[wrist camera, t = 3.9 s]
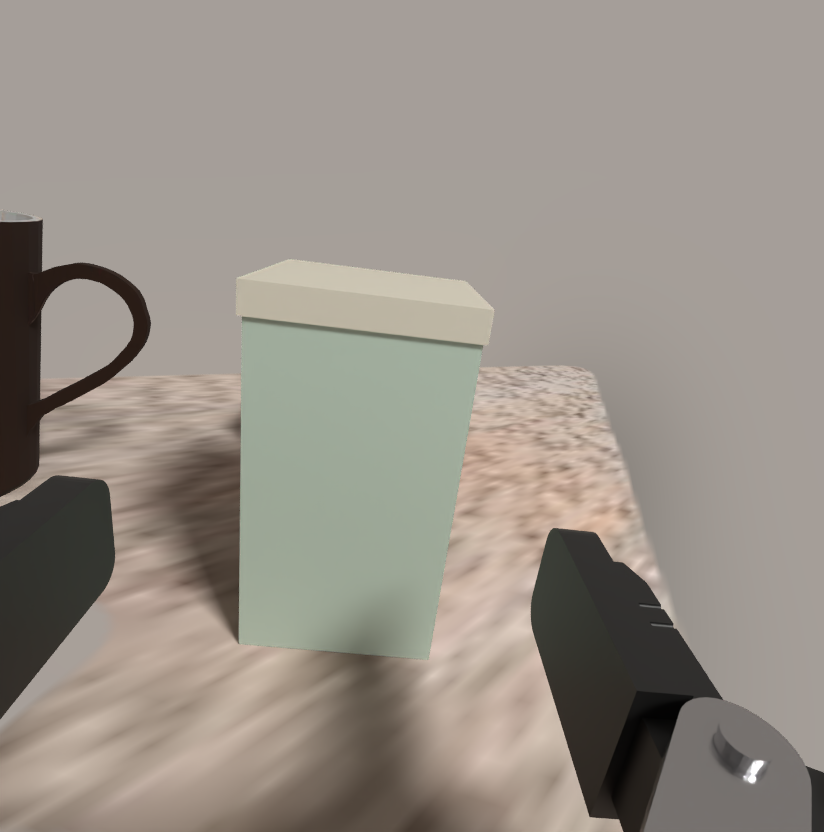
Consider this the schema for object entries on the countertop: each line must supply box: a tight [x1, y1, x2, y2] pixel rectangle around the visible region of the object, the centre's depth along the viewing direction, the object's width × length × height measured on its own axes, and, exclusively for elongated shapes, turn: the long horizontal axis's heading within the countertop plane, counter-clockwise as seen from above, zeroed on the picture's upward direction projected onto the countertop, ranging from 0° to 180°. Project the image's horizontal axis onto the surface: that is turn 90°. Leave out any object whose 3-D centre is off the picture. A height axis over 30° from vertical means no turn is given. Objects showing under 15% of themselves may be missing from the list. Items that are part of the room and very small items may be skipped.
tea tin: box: [236, 259, 495, 660], centre depth 16 cm, size 6×6×10 cm
